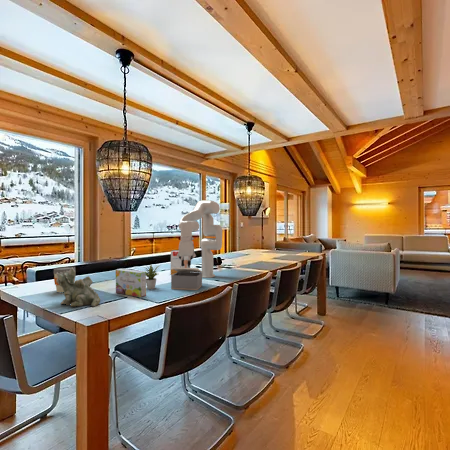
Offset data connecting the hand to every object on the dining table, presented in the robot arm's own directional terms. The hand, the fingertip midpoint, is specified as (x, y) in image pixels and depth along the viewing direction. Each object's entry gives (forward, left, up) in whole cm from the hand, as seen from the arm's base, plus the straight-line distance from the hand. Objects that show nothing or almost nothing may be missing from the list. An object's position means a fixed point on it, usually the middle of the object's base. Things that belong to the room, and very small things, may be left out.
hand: (186, 265), depth 201 cm
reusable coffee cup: (+22, -74, -15) cm, 79 cm away
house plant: (+3, -23, -15) cm, 28 cm away
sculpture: (+46, -48, -15) cm, 68 cm away
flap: (-3, 0, -4) cm, 5 cm away
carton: (-3, 0, -15) cm, 15 cm away
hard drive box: (-48, -19, -15) cm, 54 cm away
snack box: (+22, -29, -15) cm, 40 cm away
